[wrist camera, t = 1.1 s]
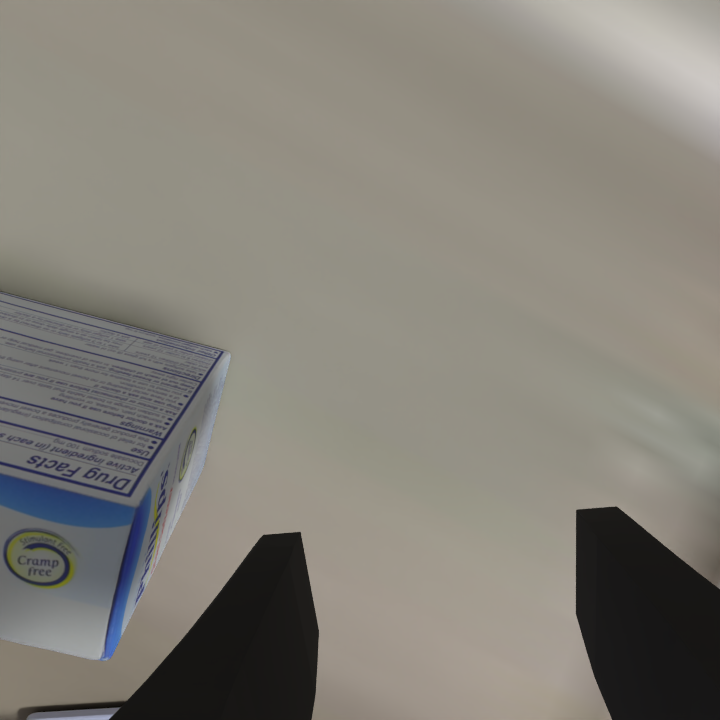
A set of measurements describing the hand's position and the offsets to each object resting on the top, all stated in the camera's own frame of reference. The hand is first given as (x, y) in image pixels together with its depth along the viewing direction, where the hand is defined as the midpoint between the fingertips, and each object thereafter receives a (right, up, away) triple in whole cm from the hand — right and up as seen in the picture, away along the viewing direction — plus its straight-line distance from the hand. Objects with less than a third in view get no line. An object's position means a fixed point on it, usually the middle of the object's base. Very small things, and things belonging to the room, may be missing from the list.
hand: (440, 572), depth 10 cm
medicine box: (-10, +3, +11) cm, 15 cm away
